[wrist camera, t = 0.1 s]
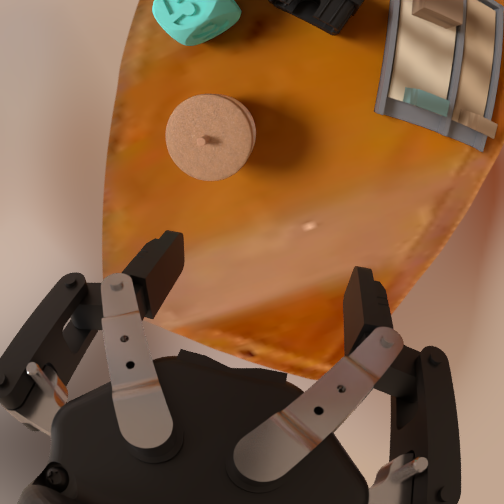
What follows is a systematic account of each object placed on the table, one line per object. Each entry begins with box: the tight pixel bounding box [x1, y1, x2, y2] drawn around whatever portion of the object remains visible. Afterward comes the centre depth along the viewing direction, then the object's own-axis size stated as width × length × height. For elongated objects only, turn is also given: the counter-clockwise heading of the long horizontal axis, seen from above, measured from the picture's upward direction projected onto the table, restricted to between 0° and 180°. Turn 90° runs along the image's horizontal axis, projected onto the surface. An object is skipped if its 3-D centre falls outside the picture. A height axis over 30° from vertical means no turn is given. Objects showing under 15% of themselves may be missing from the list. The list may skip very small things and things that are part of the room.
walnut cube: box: [412, 0, 463, 29], centre depth 19 cm, size 5×5×5 cm
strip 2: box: [451, 0, 498, 139], centre depth 21 cm, size 20×5×6 cm, turn 174°
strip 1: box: [387, 0, 456, 117], centre depth 22 cm, size 20×8×6 cm, turn 174°
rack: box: [374, 0, 504, 152], centre depth 24 cm, size 24×17×2 cm
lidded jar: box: [166, 94, 256, 181], centre depth 35 cm, size 11×11×9 cm
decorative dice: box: [152, 0, 242, 46], centre depth 26 cm, size 8×8×8 cm
